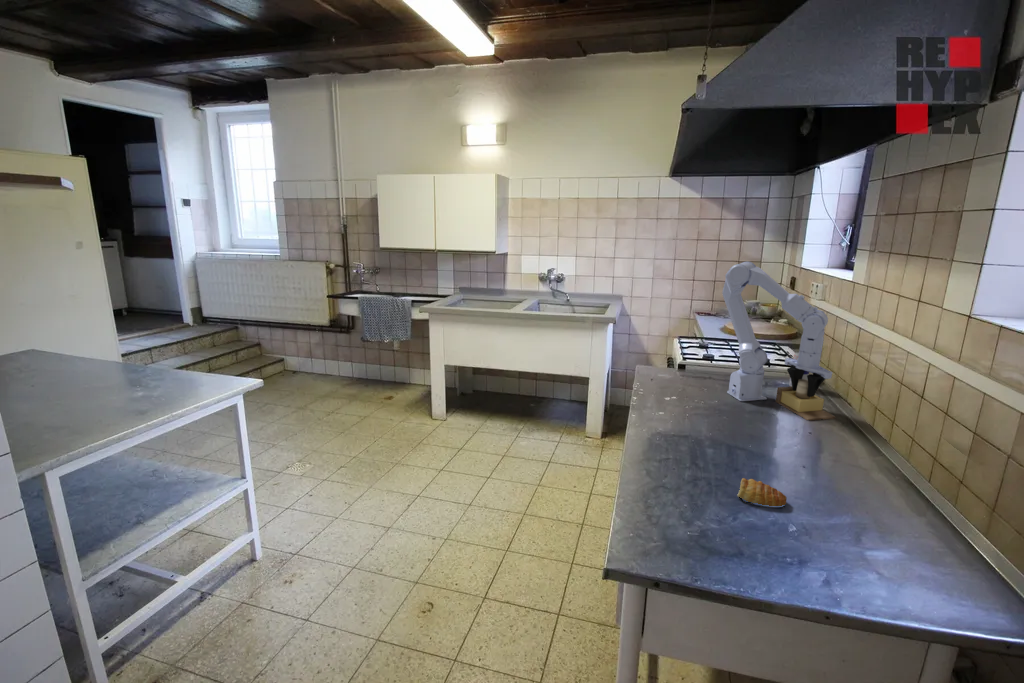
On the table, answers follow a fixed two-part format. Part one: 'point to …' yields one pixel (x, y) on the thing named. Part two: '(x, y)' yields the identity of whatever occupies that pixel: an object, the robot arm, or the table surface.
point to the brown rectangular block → (807, 414)
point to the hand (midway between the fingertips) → (803, 393)
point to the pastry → (760, 493)
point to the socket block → (801, 402)
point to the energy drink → (804, 372)
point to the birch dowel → (802, 389)
